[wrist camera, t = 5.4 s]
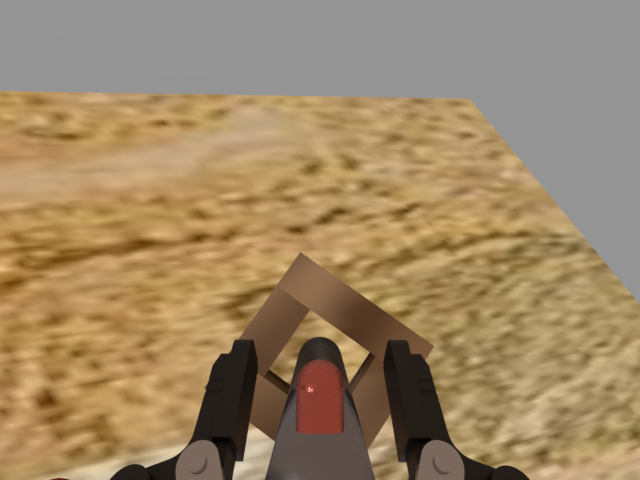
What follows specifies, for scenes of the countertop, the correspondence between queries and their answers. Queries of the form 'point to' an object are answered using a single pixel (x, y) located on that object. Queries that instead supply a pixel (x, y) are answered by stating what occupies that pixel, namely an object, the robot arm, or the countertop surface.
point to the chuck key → (320, 422)
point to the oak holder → (344, 314)
